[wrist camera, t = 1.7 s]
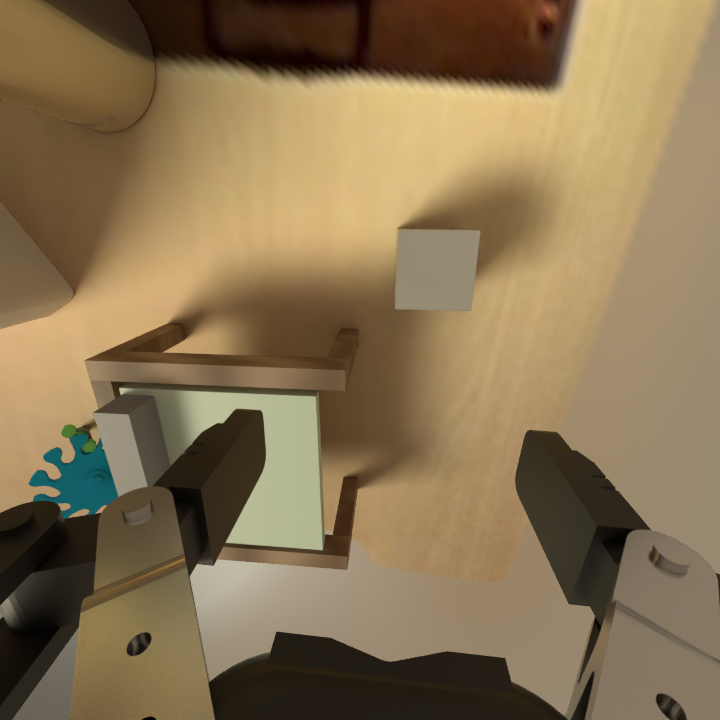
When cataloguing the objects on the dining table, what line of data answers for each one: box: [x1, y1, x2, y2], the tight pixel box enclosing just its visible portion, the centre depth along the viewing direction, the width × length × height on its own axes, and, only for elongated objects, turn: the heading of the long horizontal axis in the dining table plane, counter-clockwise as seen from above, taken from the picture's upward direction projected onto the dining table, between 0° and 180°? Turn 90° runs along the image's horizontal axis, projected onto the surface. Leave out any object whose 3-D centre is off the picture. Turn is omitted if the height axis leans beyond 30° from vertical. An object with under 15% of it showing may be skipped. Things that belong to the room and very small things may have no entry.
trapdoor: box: [93, 382, 325, 550], centre depth 26 cm, size 14×14×4 cm
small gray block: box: [394, 229, 481, 311], centre depth 26 cm, size 5×5×7 cm
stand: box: [84, 324, 358, 570], centre depth 31 cm, size 18×18×10 cm
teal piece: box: [29, 425, 118, 519], centre depth 37 cm, size 11×6×10 cm
